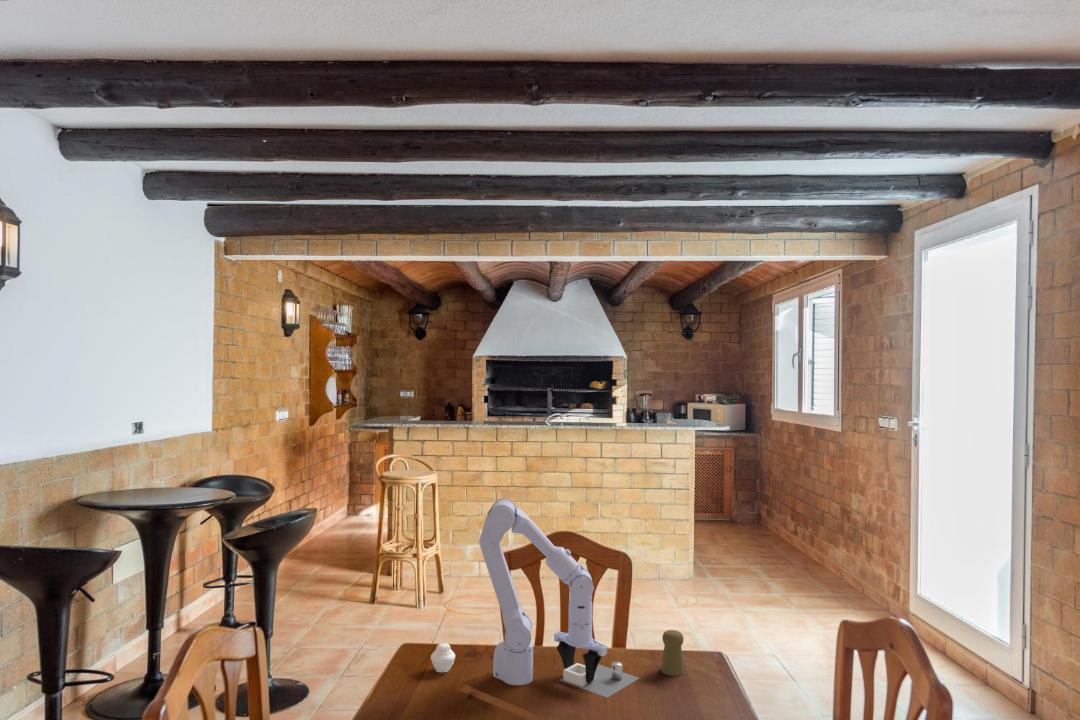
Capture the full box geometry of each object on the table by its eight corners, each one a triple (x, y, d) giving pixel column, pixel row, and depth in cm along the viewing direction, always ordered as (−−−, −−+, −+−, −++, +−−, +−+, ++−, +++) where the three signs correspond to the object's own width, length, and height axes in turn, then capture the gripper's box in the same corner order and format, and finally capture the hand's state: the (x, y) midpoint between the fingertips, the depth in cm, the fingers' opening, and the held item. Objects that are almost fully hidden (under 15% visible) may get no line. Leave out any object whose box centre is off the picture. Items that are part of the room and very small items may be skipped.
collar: (563, 680, 170) (563, 669, 170) (577, 672, 174) (577, 662, 175) (582, 686, 167) (582, 676, 167) (595, 679, 171) (595, 669, 171)
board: (559, 685, 170) (559, 680, 170) (592, 667, 181) (592, 662, 181) (607, 702, 161) (607, 697, 161) (639, 682, 172) (639, 677, 172)
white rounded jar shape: (449, 664, 182) (449, 636, 182) (459, 673, 176) (459, 644, 176) (426, 668, 178) (427, 641, 179) (435, 678, 173) (436, 649, 173)
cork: (684, 682, 173) (685, 636, 173) (659, 679, 174) (660, 634, 174) (684, 672, 179) (685, 628, 179) (660, 669, 180) (661, 626, 180)
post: (609, 678, 171) (609, 663, 171) (615, 675, 173) (615, 660, 173) (618, 681, 170) (618, 666, 170) (624, 678, 172) (624, 663, 172)
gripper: (614, 623, 169) (613, 681, 169) (566, 610, 179) (565, 664, 178) (597, 631, 164) (596, 690, 164) (549, 617, 173) (548, 673, 173)
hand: (579, 677), depth 171 cm, fingers closed on collar, 6 cm apart
